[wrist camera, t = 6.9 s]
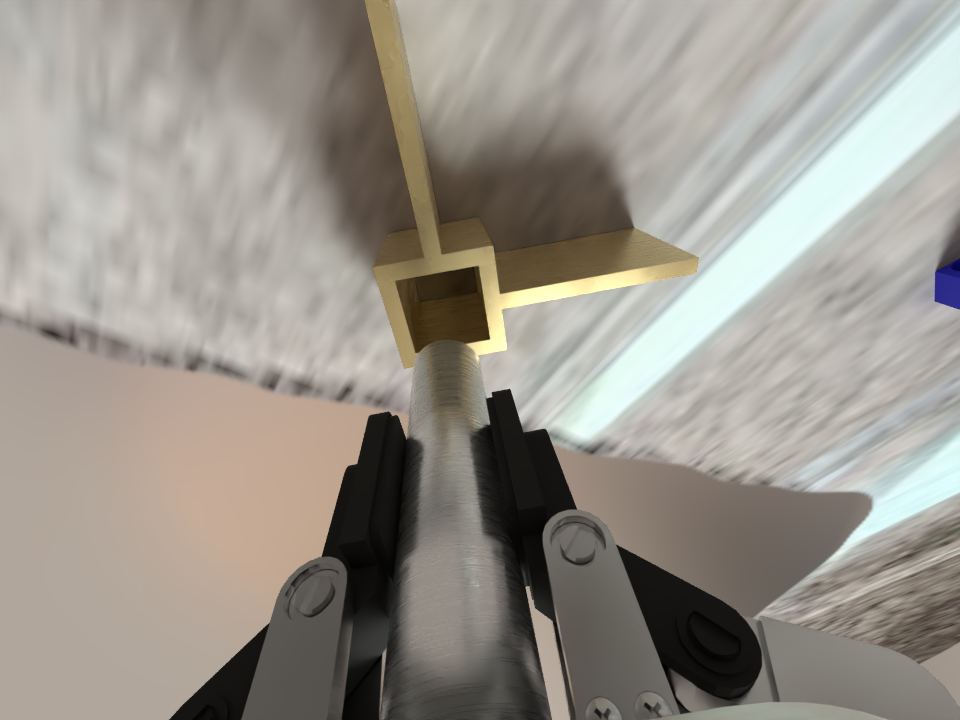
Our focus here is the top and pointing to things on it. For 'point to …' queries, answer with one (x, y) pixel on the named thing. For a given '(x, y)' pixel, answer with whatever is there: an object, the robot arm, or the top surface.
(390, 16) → the hinge
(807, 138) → the top surface
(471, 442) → the pin
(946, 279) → the cable clip
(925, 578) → the top surface
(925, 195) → the top surface
